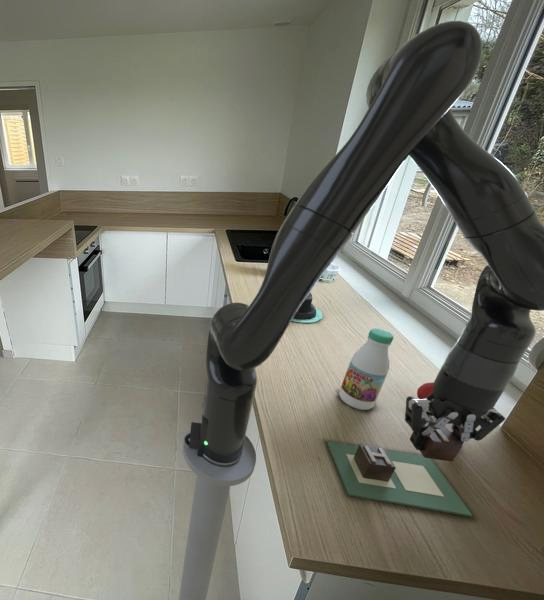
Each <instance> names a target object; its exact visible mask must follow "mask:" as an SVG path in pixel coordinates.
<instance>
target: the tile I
mask: <svg viewBox="0 0 544 600" xmlns="http://www.w3.org/2000/svg"><path fill="white" fill-rule="evenodd" d="M427 425H428V422H427V423H426V424H425V426H427ZM462 447H463V445H461V443H460V442H459V441H458V440H457V439H456V438H455V437H454V435H453V434H452V433H451V432H450V431H449V430H448V429H447V427H446V426H444V427H442V428H441V429H436V430H435V431H433V432H432V433H431V434H430V435H429V438H428V440H427V442H426V444H425V446H424V448H423V449H422V450H418V451H419V452H420V454H421V456H424V457H425V458H430V459H432V460H438V461H444V462H451V463H452V462H454V461H455V459H456V457H457V456H458V454H459V452H460V451H461V449H462Z"/></svg>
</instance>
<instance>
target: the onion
mask: <svg viewBox="0 0 544 600" xmlns="http://www.w3.org/2000/svg"><path fill="white" fill-rule="evenodd" d="M433 384H434V381H432V382H425V383H423V384H421V385H420V386H419V387H418V388H417V390H416V396H417V399H426V397H427V396H428V395H430V394H431V393H432V392H433ZM426 408H427V407H426ZM426 408H425V409H426Z"/></svg>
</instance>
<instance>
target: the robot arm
mask: <svg viewBox="0 0 544 600" xmlns="http://www.w3.org/2000/svg"><path fill="white" fill-rule="evenodd" d="M482 55H483V41H482V38H481V34H480V32H479V31H478V30H477V28H476V27H475V26H474V25H473V24H472V23H469V22H466V21H462V20H449V21H443V22H440V23H438V24H437V23H436V24H434V25H431V26H429V27H428V28H426V29H424V30H422V31H420V32H418V33H417V34H415V35H414V36H412V37H411V38H409V39H408V40H407V41H406V42H404V43H403V44H402V45H401V46H400V47H398V48H397V49H396V51H394V52H393V54H391V55H390V56H389V57H388V58H387V59H386V60H384V62H383V63H382V64H381V65H380V66H379V67H378V68H377V69H376V70H375V72H374V73H373V75H372V77H371V78H370V80H369V83H368V85H367V89H366V95H365V96H366V105H367V107H368V109H367V111H366V113H365V114H364V116H363V118H362V119H361V121H360V123H359V124H358V126H357V127H356V129H355V131H354V132H353V133H352V134H351V136H350V137H349V139H348V140H347V141H346V143H345V144H343V146H342V148H341V149H339V151H338V152H337V153H336V154H335V155H334V156H333V157H332V158H331V159H330V161H329V162H328V163H327V164H326V165H325V166H324V167H323V168H322V170H321V171H320V172H319V173H318V174H317V175H316V176H315V178H314V179H313V180H312V181H311V182H310V184H309V185H308V186H307V187H306V189H304V191H303V192H302V194H301V195H300V197H299V198H298V199H297V201H296V202H295V203H294V205H293V206H292V207H291V210H290V211H289V213H288V214H287V216H286V217H285V218H284V221H283V222H282V224H281V225H280V227H279V229H278V231H277V232H276V234H275V236H274V240H273V241H274V242H272V243H273V246H272V245H271V248H270V253H269V257H268V261H267V266H266V270H265V274H264V277H263V280H262V283H261V285H260V287H259V290H258V291H257V293H256V295H255V297H254V298H253V299H252V301H251V302H250V305H248V304H246V303H244V302H243V303H242V302H230V303H227V304H224V305H223V306H221V307H220V308H219V309H218V310H217V311H216V312H215V313H214V315H213V316H212V318H211V319H210V323H209V328H208V333H207V334H208V335H207V344H206V353H205V354H206V355H205V356H206V357H205V368H206V380H205V388H204V394H203V400H202V402H201V407H200V415H199V421H198V422H194V421H191V422H190V428H191V430H190V433H189V434H187V435H186V434H185V435H186V436H185V435H184V437H185V438H184V437H183V441H184V440H185V443H186V444H187V445H188V446H189V448H191V449H197V456H199V457H203V458H204V459H205V460H206V461H208V462H209V463H211V464H213V465H216V466H220V467H229V466H233V465H235V464H236V463H237V462H238V461H239V460H240V458H241V455H242V449H243V444H244V439H245V435H246V434H247V431H248V430H247V429H248V425H249V420H250V416H251V411H252V407H253V402H254V398H255V394H256V390H257V384H258V377H257V373H256V368H258V367H259V366H261V365H262V364H264V362H266V361H267V360H268V359H269V358H270V357H271V355H272V354H273V352H274V351H275V349H276V348H277V346H278V345H279V343H280V341H281V339H282V338H283V335H284V334H285V332H286V330H287V328H288V327H289V326H290V324H291V322H292V321H291V320H292V319H293V317H294V315H295V314H296V312H297V311H298V309H299V307H300V306H301V304H302V303H303V301H304V300H305V299H306V297H307V296H308V295H309V293H310V292H311V293H312V290H313V289H314V287H315V286H316V285H317V283H318V282H319V281H320V280H319V279H320V277H321V276H322V275H323V273H324V272H325V270H326V269H327V268H328V266H329V265H330V264H332V263H333V262H334V260H335V259H336V258H337V256H339V254H340V253H341V252H342V250H343V249H344V247H345V246H346V245H347V243H349V242H348V241H350V239H351V238H352V237H353V235H354V234H355V233H356V231H357V230H358V228H359V226H360V225H361V223H362V222H363V221H364V219H365V217H366V216H367V215H368V213H369V212H370V211H371V210H372V208H373V207H374V205H375V204H376V202H377V201H378V200H379V199H380V197H381V195H382V194H383V193H384V191H385V189H387V187H388V185H389V184H390V182H391V181H392V180H393V178H394V177H395V175H396V173H398V170H399V169H400V168H401V166H402V165H403V164H404V162H405V161H406V160H407V158H408V157H410V158H411V160H412V161H413V162H414V164H416V167H418V169H420V171H421V172H422V174H423V175H424V176H425V178H426V179H427V180H428V182H429V183H430V185H431V187H432V188H433V189H434V190H435V192H436V193H437V195H438V197H439V198H440V199H441V201H442V203H443V205H444V206H445V208H446V209H447V211H448V213H449V215H450V217H451V218H452V220H453V221H454V223H455V225H456V226H457V228H458V230H459V232H460V233H461V235H462V237H463V238H464V240H465V241H466V242H467V244H468V245H469V246H470V247H471V248H472V249H474V251H475V252H477V253H478V254H479V255H481V257H482V258H483V259H484V260H485V261H486V263H487V264H486V265H485V266H484V268H483V269H482V271H481V273H480V275H479V277H478V280H477V282H476V287H475V291H474V295H473V296H474V297H473V300H472V305H471V311H470V317H469V319H468V321H467V322H466V323H465V325H464V327H463V328H462V331H461V333H460V334H459V337H458V339H457V341H456V342H455V344H454V345H453V346H452V347H451V348H450V350H449V352H448V353H447V356H446V358H445V360H444V361H443V364H442V365H441V366H440V369H439V371H438V373H437V375H436V377H435V378H434V380H433V383H434V384H433V392H432V393H431V394H430V395H428V396H427V397H426V399H419V398H417V399H416V398H415V397H414V396H412V395H411V396H407V397H406V399H405V412H404V413H405V414H404V421H405V422H406V424H407V425H408V426H409V427H410V429H411V430H412V433H411V435H410V437H409V442H410V443H411V444H412V446H413V447H414V448H415V450H416V451H419V450H422V449H423V448H424V446H425V444H426V442H427V440H428V438H429V435H430V434H431V433H432V432H433V431H435V430H436V429H441V428H442V427H444V426H445V425H446V424H452V428H451V429H452V431H450V432H451V433H452V434H453V435H454V437H455V438H456V439H457V440H458V441H459V442H460V443H461V445H462V446H463V445H464V443H465V442H466V443H467V442H469V440H470V439H471V440H472V439H473V440H474V441H477V442H479V441H482V440H483V439H484V438H485V437H487V436H488V435H489V434H490V433H491V432H493V431H494V430H495V429H496V428H497V427H499V425H501V424H502V423H503V422H505V420H506V417H505V416H504V415H503V414H502V413H500V412H499V411H498V410H497V409H496V408H495V406H496V404H497V402H498V401H499V399H500V398H501V397H502V395H503V393H504V391H505V390H506V389H507V387H508V385H509V383H510V382H511V380H513V377H514V375H515V373H516V371H517V368H518V366H519V364H520V362H521V360H522V359H523V357H524V355H525V354H526V351H527V350H528V349H529V347H530V346H531V344H532V343H533V340H534V339H535V336H536V331H537V329H536V327H535V324H534V323H533V321H532V319H531V317H530V315H531V314H530V313H531V311H538V312H542V311H544V224H543V223H542V222H541V220H540V218H539V215H538V213H537V211H536V209H535V207H534V205H533V203H532V202H531V200H530V198H529V197H528V194H527V192H526V191H525V190H524V188H523V187H522V184H521V183H520V182H519V180H518V179H517V177H516V176H515V174H513V172H511V170H510V169H509V168H508V167H507V166H506V165H504V164H503V162H501V161H500V160H499V159H497V158H496V157H495V156H494V155H493V154H491V153H490V152H488V151H487V150H486V149H485V148H483V146H481V145H479V143H478V142H476V141H475V140H474V139H473V138H472V137H470V135H469V134H468V133H467V132H466V131H465V130H464V128H463V127H462V126H461V125H460V123H459V122H458V120H457V118H456V117H455V116H454V113H453V111H452V109H451V108H452V107H453V105H454V104H455V103H456V102H457V101H458V100H459V98H461V96H462V95H463V94H464V93H465V92H466V90H467V89H468V88H469V86H470V85H471V83H472V82H473V79H474V77H475V76H476V74H477V73H478V70H479V67H480V64H481V61H482ZM426 407H427V408H426ZM426 423H427V424H428V425H427V426H425V424H426ZM479 426H480V428H479V429H478V430H477V428H478V427H479ZM246 436H247V435H246ZM189 438H190V442H189V440H188V439H189Z"/></svg>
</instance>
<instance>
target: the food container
mask: <svg viewBox="0 0 544 600" xmlns="http://www.w3.org/2000/svg"><path fill="white" fill-rule="evenodd" d="M340 270H341V268H340V267H339V266H338V265H335V264H332V263H331V264H330V265H329V266H328V268H327V269H326V270H325V272H324V273H323V275H322V276H321V277H320V278H323V279H334V278H336V277H337V274H338V273H339V271H340ZM323 279H319V280H318V281H320V282H323V283H324V282H325V283H331V282H334V280H335V279H334V280H323Z"/></svg>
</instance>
